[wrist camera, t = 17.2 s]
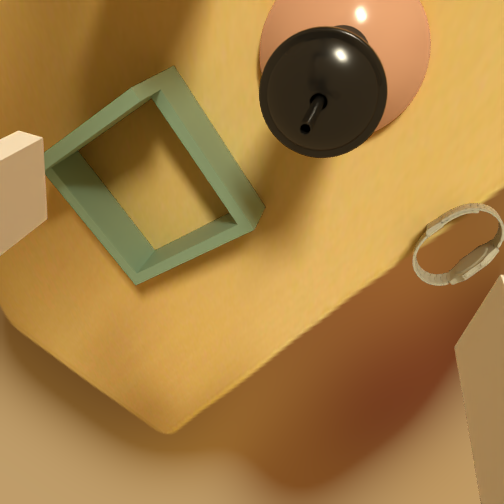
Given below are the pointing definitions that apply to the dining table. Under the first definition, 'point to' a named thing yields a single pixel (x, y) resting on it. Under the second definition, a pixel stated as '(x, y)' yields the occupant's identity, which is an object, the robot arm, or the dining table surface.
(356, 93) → the drinking cup
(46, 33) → the dining table surface
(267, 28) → the saucer
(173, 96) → the frame
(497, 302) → the robot arm
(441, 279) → the wristwatch
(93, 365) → the dining table surface
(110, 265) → the dining table surface
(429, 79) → the dining table surface
